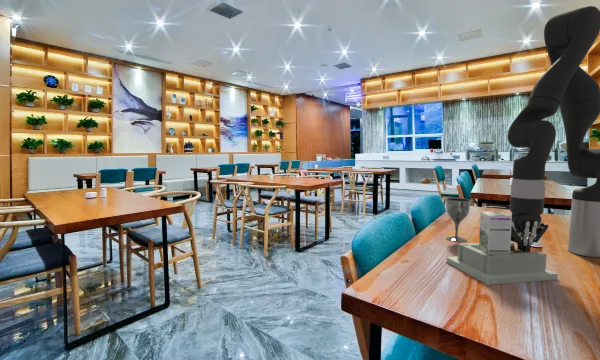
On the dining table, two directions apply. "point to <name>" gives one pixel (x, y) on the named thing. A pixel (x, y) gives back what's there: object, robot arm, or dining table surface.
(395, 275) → the dining table surface
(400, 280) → the dining table surface
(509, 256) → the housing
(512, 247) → the clamp block
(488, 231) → the syrup box
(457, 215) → the wine glass
